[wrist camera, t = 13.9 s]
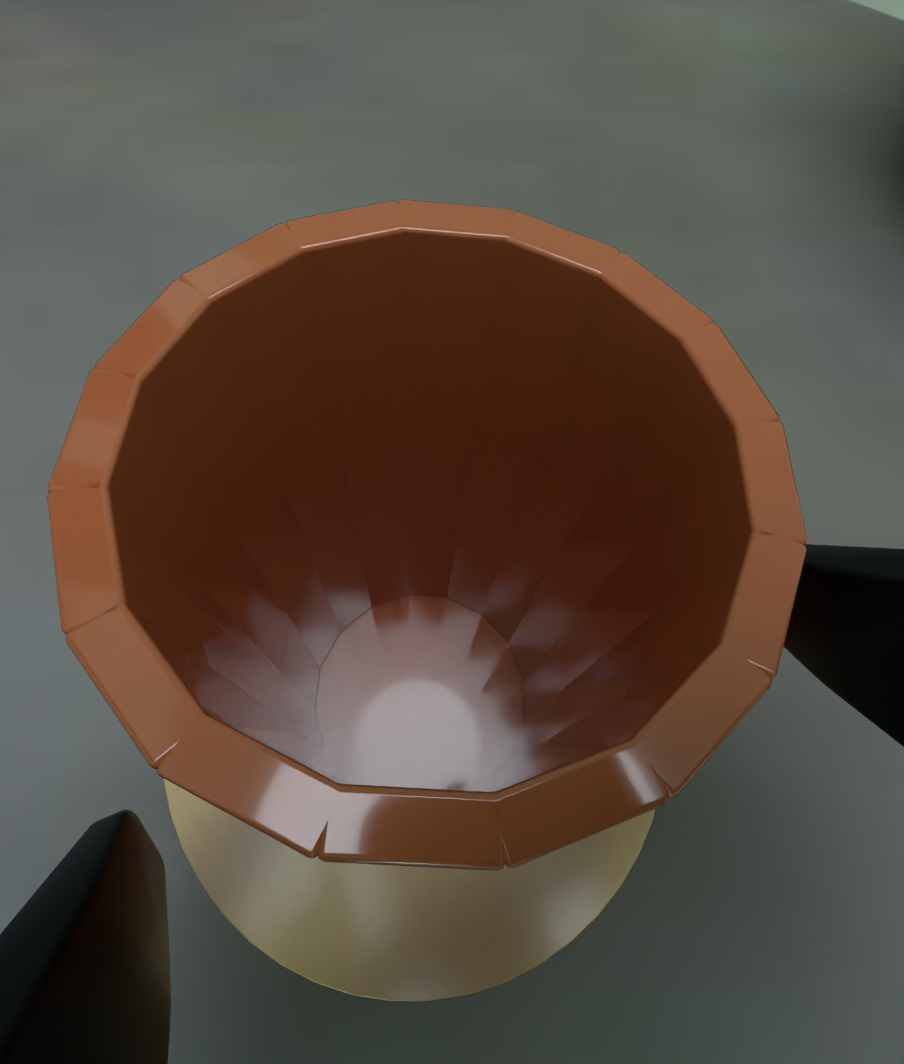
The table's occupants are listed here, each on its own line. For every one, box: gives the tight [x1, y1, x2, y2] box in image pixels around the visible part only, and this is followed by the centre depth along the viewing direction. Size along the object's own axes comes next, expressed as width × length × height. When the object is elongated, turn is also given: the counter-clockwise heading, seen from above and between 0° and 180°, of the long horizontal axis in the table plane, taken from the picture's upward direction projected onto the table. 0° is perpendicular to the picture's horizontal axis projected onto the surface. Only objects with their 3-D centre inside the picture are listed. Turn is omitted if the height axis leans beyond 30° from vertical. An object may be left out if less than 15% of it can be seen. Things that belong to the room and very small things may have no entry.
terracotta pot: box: [47, 199, 807, 871], centre depth 11 cm, size 7×7×13 cm
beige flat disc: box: [163, 778, 656, 1001], centre depth 18 cm, size 14×14×1 cm
